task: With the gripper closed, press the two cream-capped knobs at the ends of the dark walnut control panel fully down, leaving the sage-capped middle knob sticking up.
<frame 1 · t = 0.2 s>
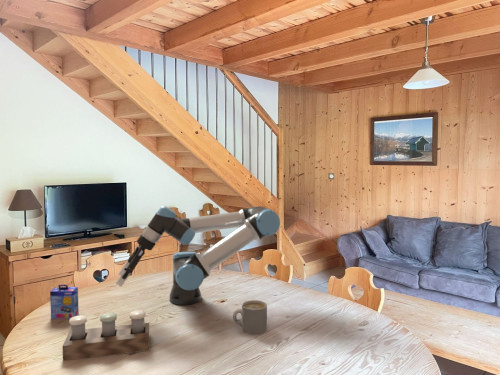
hand: (119, 280, 162), 16 cm above the table, tool tilted 35°, fingers open, 13 cm apart
ink cartridge box: (64, 317, 162), on the table
control panel: (109, 347, 136), on the table
knob 2: (137, 322, 138), point 8 cm above the table, slide at 0.0 cm
knob middle: (108, 325, 136), point 8 cm above the table, slide at 0.0 cm
coffee mug: (250, 329, 152), on the table
knob 1: (78, 328, 133), point 8 cm above the table, slide at 0.0 cm
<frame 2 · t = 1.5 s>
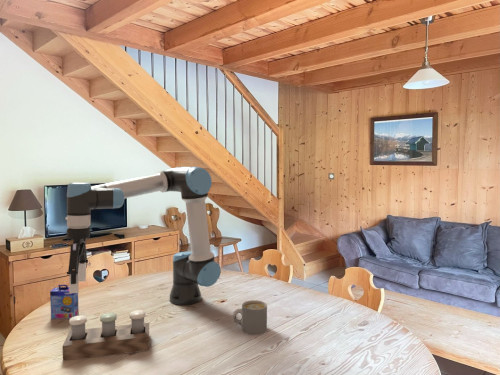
hand: (77, 286, 134), 22 cm above the table, tool pointing down, fingers open, 13 cm apart
nothing on the table moved.
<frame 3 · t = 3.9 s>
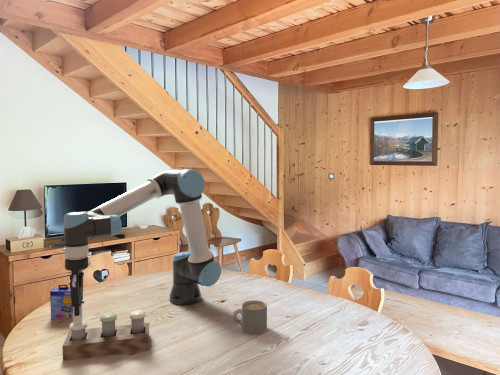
hand: (77, 323, 133), 10 cm above the table, tool pointing down, fingers closed
knob 1: (78, 333, 133), point 6 cm above the table, slide at 1.9 cm, touching gripper
everything else where it was.
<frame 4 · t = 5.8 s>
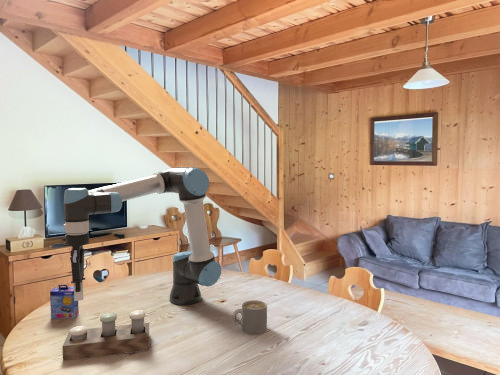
hand: (78, 299, 132), 18 cm above the table, tool pointing down, fingers closed
knob 1: (78, 338, 133), point 4 cm above the table, slide at 3.8 cm
everything else where it was.
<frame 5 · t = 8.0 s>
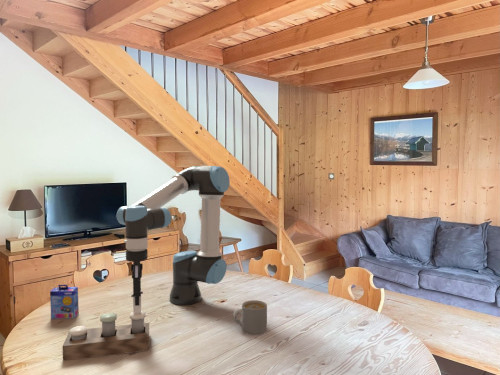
hand: (137, 312, 138), 12 cm above the table, tool pointing down, fingers closed
knob 2: (137, 322, 138), point 8 cm above the table, slide at 0.1 cm, touching gripper
everything else where it was.
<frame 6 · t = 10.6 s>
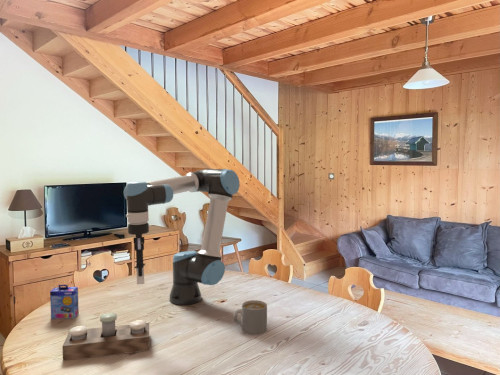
hand: (140, 283, 145), 20 cm above the table, tool pointing down, fingers closed
knob 2: (137, 332, 138), point 4 cm above the table, slide at 3.8 cm
everything else where it was.
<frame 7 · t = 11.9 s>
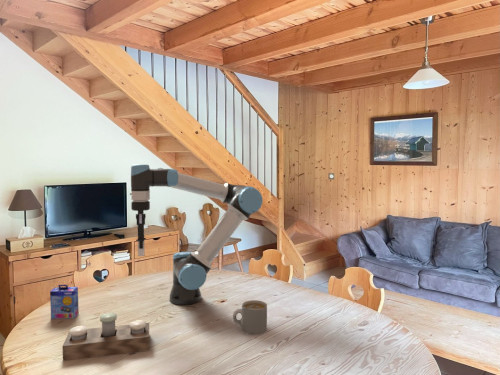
hand: (141, 255, 162), 26 cm above the table, tool pointing down, fingers closed
nothing on the table moved.
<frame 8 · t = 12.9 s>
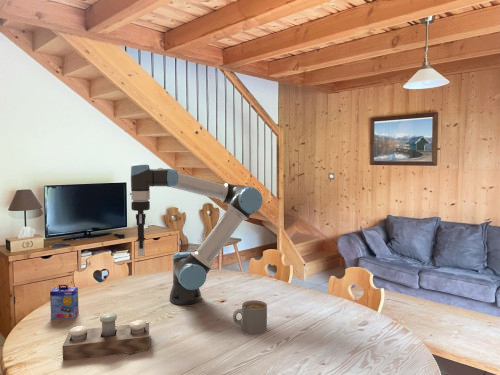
hand: (141, 255, 162), 26 cm above the table, tool pointing down, fingers closed
nothing on the table moved.
at the end: knob 1 slide at 3.8 cm; knob 2 slide at 3.8 cm; knob middle slide at 0.0 cm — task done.
